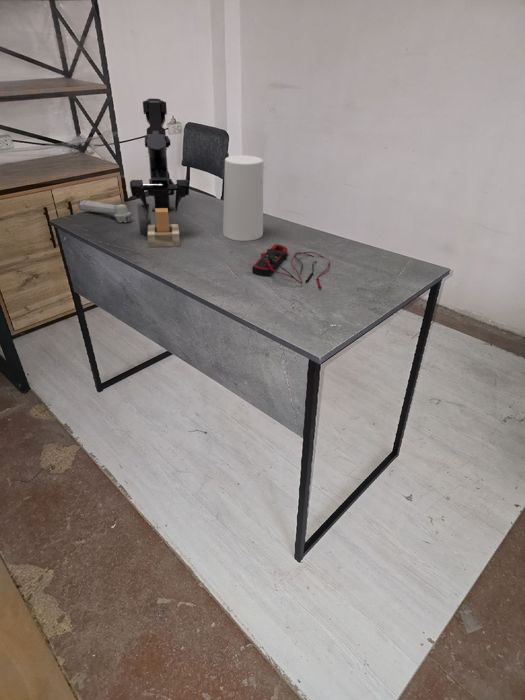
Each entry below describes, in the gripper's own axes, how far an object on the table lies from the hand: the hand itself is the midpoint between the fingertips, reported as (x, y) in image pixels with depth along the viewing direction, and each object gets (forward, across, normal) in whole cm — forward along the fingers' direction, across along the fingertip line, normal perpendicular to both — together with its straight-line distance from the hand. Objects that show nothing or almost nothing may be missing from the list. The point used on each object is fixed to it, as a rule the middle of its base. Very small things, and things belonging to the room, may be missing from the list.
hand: (161, 211), depth 151 cm
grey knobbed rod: (-12, +21, -26) cm, 36 cm away
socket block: (+8, 0, -6) cm, 10 cm away
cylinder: (+4, -27, -9) cm, 29 cm away
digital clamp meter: (+26, -38, +12) cm, 48 cm away
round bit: (+2, +6, -12) cm, 13 cm away
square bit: (+7, 0, -6) cm, 9 cm away
